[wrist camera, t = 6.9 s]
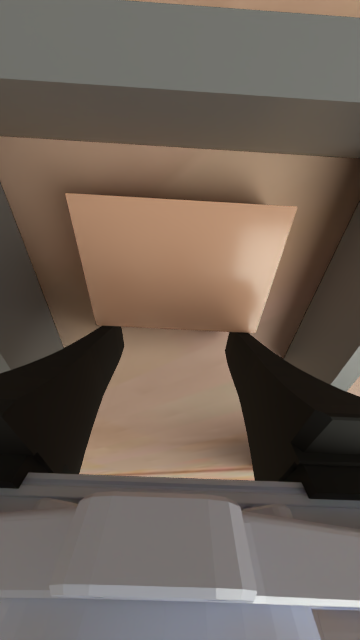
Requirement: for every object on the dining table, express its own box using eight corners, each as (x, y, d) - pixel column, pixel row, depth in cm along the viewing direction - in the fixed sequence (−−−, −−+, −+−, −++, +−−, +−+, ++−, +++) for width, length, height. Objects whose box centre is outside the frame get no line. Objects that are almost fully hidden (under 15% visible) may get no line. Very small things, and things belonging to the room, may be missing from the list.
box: (297, 360, 14) (334, 405, 11) (49, 348, 14) (5, 391, 10) (425, 123, 7) (643, 38, 4) (-64, 91, 7) (-302, -32, 4)
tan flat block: (240, 308, 12) (255, 333, 10) (114, 302, 12) (96, 325, 10) (266, 209, 9) (297, 206, 7) (98, 200, 9) (64, 192, 7)
